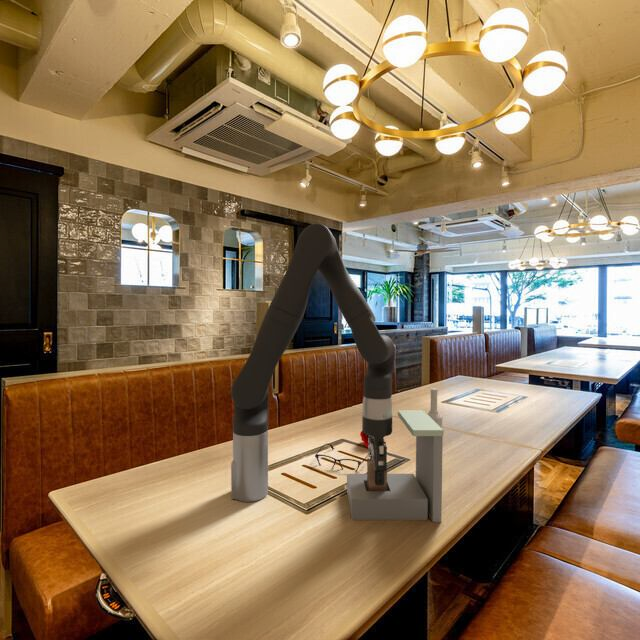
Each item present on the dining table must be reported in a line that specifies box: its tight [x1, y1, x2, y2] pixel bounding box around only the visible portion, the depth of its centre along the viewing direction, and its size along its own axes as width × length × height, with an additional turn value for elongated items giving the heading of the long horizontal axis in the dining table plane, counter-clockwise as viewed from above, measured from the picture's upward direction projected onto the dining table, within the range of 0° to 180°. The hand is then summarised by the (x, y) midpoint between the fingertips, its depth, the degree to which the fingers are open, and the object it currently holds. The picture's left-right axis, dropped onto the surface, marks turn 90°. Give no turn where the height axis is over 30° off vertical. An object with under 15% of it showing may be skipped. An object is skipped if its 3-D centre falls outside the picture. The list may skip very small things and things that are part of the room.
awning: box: [397, 409, 444, 523], centre depth 100 cm, size 7×17×22 cm, turn 1°
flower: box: [359, 430, 369, 448], centre depth 144 cm, size 8×8×8 cm
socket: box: [346, 473, 428, 521], centre depth 100 cm, size 18×14×5 cm
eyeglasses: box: [314, 443, 370, 472], centre depth 129 cm, size 16×16×4 cm
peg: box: [366, 458, 388, 491], centre depth 100 cm, size 4×4×10 cm
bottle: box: [426, 387, 443, 429], centre depth 122 cm, size 5×5×25 cm
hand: (376, 477), depth 100 cm, fingers open, 8 cm apart
